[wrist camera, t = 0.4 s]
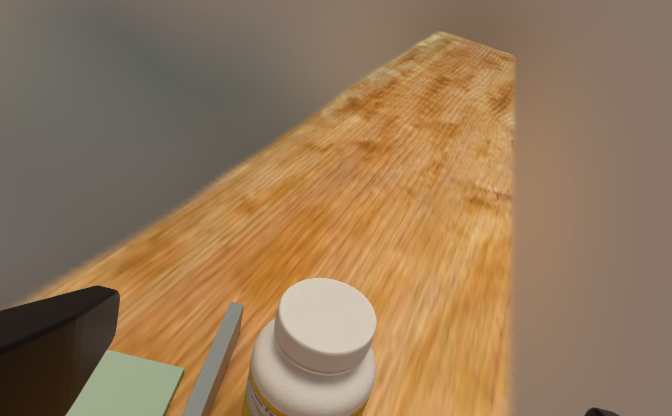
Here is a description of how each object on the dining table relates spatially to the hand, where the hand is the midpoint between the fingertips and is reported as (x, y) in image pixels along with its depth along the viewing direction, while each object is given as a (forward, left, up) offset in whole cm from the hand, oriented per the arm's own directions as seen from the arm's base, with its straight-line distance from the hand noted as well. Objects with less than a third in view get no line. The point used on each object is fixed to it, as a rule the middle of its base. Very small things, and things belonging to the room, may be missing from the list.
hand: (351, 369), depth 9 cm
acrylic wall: (+8, +5, -16) cm, 19 cm away
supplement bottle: (+8, 0, -17) cm, 18 cm away
